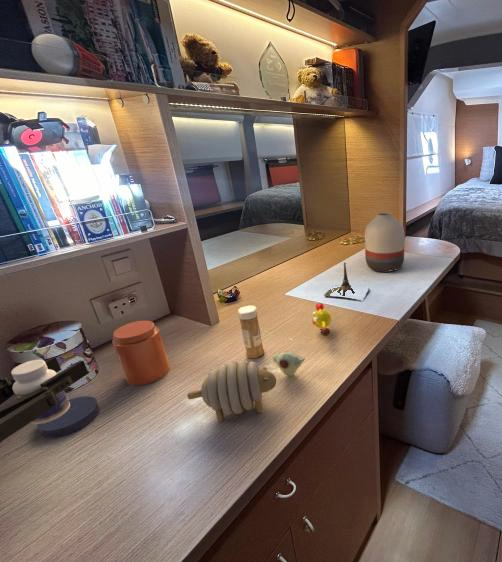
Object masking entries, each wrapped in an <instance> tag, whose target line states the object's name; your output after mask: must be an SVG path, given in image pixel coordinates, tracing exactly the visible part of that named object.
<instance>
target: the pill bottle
mask: <svg viewBox="0 0 502 562" xmlns="http://www.w3.org/2000/svg"><path fill="white" fill-rule="evenodd" d="M45 361H46V360H44V359H32V360H28V361H26V362H22V363H21V364H19V365H17V366H15V367H14V368H12V370H11V371H10V372H11V376H12V379H13V378H14V379H15V381H16V382H15V383H14V384H13V387H12V389H13V391H14V393H15V394H14V396H15V397H16V399H18V398H21V397H23V396H25V395H27V394H29V393H31V392H33V391H35V390H37V389H39V388H41V385H40V384H42V383H43V382H45V381H47V380H48V379H50V378H52V377H53V376H55V375H57V374H58V372H57V373H56V372H55V371H53V370H50V369H48V367H47V365H46V363H45ZM55 398H56V400H57V402H58V404H57V405H56V406H55V407H53V408H52V409H50V410H49V411H47V412H46V413H44V414H43V415H41V416H40V417H38V418H37V419H35V420H33V421H32V422H30V423H29V424H32V425H37V424H42V423H46V422H50V421H52V420H54V419H57V418H58V417H60V416H62V415H63V414H64V413H66V412H67V410H68V409H69V407H70V402H69V400H70V399H69V398H68V395H67V393H66V391H65V389H64V390H63V391H61V392H60V393H58V394H57V395H55Z"/></svg>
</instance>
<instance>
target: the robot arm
mask: <svg viewBox="0 0 502 562" xmlns="http://www.w3.org/2000/svg"><path fill="white" fill-rule="evenodd" d="M44 361H45V363H46V365H47V367H48V369H50V370H53V371H55V372H56V373H57V375H55V376H53V377H52V378H50V379H48V380H47V381H45V382H43V383H42V384H40V385H41V388H39V389H37V390H35V391H33V392H31V393H29V394H27V395H25V396H23V397H21V398H18V399H17V398H16V399H13V400H12V401H10V402H8V403H6V404H4V405H2V404H3V403H5V402H6V401H7V400H9V399H10V398H11V397H13V396H15V393H14V391H13V389H12V387H13V384H14V383H15V382H16V381H15V379H14V378H13V377H12V379H10V380H8V378H7V377H6V376H3V377H0V444H1V443H2V442H3V441H4V440H6V439H8V438H9V437H11V436H12V435H14V434H15V433H17V432H19V431H20V430H21V429H23V428H24V427H26V426H27V425H30V424H31V423H30V422H32V421H33V420H35V419H37V418H38V417H40V416H41V415H43V414H44V413H46V412H47V411H49V410H50V409H52V408H53V407H55V406H56V405H57V404H58V402H57V400H56V398H55V395H57V394H58V393H60V392H61V391H63V390H64V391H65V390H66V389H68V388H69V387H71V386H72V385H73V384H75V383H76V382H78V381H79V380H81V379H82V378H84V377H85V376H87V375H88V374H90V373H89V371H88V368H87V366H86V363H85V361H84V360H78V361H77V362H74V363H73V364H72V365H70V366H69V367H67V368H65V369H63V370H62V368H61V365H60V363H59V362H58V359H57V357H56V356H51V357H49V358H48V359H46V360H44ZM60 371H61V372H60Z"/></svg>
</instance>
